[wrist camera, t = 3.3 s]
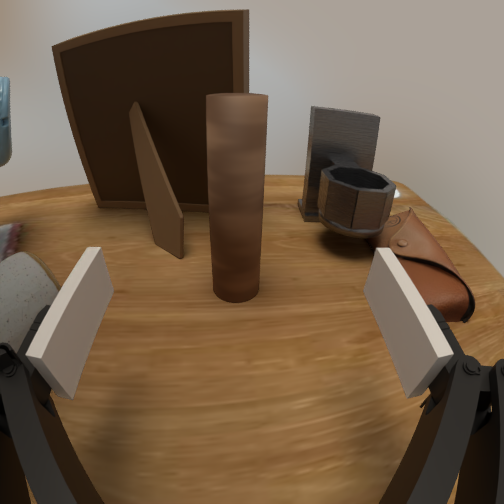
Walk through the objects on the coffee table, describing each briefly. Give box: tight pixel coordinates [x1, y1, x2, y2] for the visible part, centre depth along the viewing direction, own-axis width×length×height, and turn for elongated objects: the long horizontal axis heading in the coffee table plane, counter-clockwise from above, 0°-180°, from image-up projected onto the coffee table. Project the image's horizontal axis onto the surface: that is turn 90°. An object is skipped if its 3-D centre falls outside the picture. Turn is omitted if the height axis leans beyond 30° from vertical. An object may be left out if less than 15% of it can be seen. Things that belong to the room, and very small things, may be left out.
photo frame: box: [52, 10, 249, 259], centre depth 29 cm, size 15×22×25 cm
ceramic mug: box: [0, 251, 61, 354], centre depth 17 cm, size 11×8×8 cm
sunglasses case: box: [366, 207, 475, 323], centre depth 29 cm, size 18×7×7 cm
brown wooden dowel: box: [206, 93, 268, 303], centre depth 22 cm, size 4×4×16 cm
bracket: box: [298, 106, 396, 238], centre depth 32 cm, size 14×8×14 cm, turn 2°
